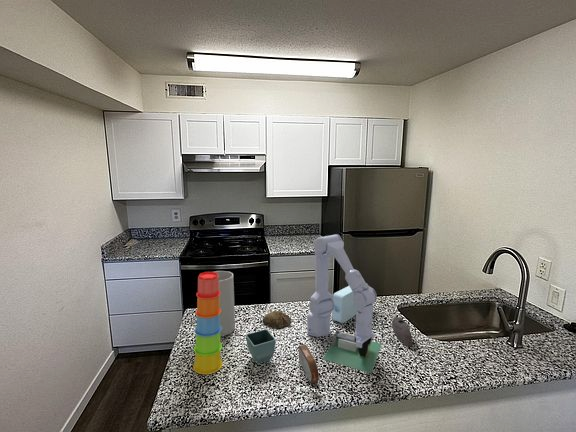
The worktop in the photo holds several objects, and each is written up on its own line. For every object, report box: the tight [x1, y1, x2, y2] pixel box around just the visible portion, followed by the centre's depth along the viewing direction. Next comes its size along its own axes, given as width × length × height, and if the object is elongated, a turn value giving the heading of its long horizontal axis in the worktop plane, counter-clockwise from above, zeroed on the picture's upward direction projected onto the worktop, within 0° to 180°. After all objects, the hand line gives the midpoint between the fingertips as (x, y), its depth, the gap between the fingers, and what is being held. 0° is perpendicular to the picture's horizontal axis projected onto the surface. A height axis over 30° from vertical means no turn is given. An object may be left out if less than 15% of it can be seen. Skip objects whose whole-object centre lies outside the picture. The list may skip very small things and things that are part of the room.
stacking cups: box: [192, 271, 224, 375], centre depth 109 cm, size 10×10×35 cm
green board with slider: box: [322, 329, 383, 374], centre depth 118 cm, size 18×20×4 cm
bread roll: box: [262, 310, 292, 329], centre depth 143 cm, size 13×12×5 cm
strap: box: [333, 331, 373, 345], centre depth 121 cm, size 15×4×1 cm, turn 63°
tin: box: [297, 344, 320, 385], centre depth 106 cm, size 15×3×8 cm, turn 15°
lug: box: [362, 344, 370, 358], centre depth 117 cm, size 3×6×4 cm, turn 153°
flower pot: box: [245, 328, 277, 365], centre depth 115 cm, size 9×9×9 cm
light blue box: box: [331, 283, 369, 324], centre depth 149 cm, size 23×6×13 cm, turn 136°
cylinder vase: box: [214, 270, 236, 337], centre depth 134 cm, size 12×12×25 cm
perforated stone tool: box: [391, 316, 413, 348], centre depth 127 cm, size 15×5×7 cm, turn 179°
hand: (362, 355), depth 113 cm, fingers closed
